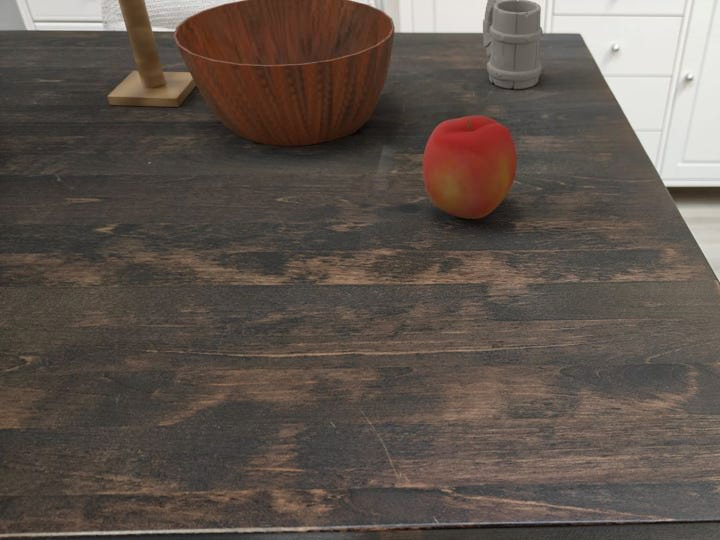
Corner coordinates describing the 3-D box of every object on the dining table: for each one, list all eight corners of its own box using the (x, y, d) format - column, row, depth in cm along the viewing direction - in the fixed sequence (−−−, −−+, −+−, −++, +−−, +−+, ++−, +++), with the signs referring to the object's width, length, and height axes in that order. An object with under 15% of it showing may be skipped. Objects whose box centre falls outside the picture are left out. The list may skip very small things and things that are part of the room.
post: (109, 105, 96) (66, -32, 86) (135, 79, 103) (98, -51, 92) (178, 107, 96) (144, -30, 86) (200, 81, 103) (170, -49, 92)
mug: (505, 94, 102) (509, 0, 94) (462, 66, 109) (463, -23, 101) (551, 84, 105) (558, -8, 97) (506, 57, 112) (510, -30, 104)
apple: (533, 213, 78) (540, 121, 71) (468, 247, 73) (470, 152, 66) (468, 181, 83) (470, 92, 76) (404, 211, 78) (399, 119, 71)
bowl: (193, 94, 99) (171, 3, 92) (376, 76, 106) (370, -11, 98) (201, 180, 82) (175, 76, 74) (421, 152, 88) (418, 53, 80)
